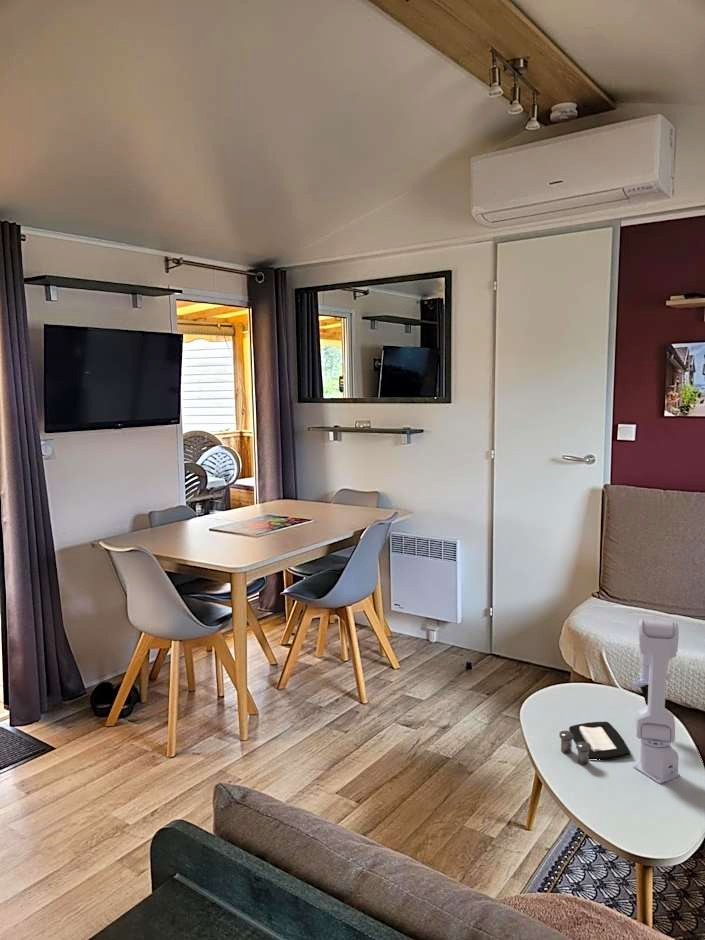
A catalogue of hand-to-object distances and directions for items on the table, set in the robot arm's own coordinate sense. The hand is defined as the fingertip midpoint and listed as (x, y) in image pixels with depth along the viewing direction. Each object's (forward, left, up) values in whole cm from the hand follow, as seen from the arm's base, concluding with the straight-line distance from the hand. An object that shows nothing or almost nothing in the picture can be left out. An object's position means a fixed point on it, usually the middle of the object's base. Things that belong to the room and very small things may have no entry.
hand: (649, 705), depth 220 cm
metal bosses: (0, +30, -8) cm, 31 cm away
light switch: (+2, +19, -9) cm, 21 cm away
